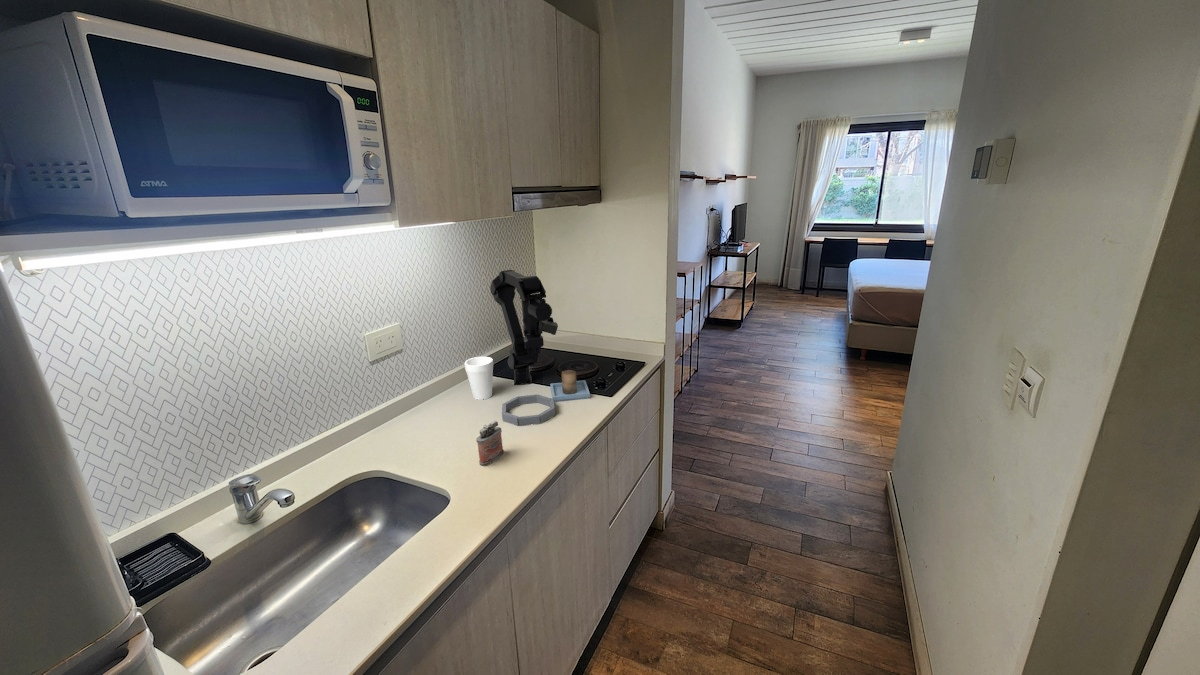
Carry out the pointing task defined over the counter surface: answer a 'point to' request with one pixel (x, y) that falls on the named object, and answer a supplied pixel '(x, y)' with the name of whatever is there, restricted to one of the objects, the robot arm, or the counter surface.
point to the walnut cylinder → (569, 382)
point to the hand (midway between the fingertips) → (534, 358)
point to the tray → (560, 396)
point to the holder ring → (533, 418)
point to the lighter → (490, 444)
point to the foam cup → (480, 376)
